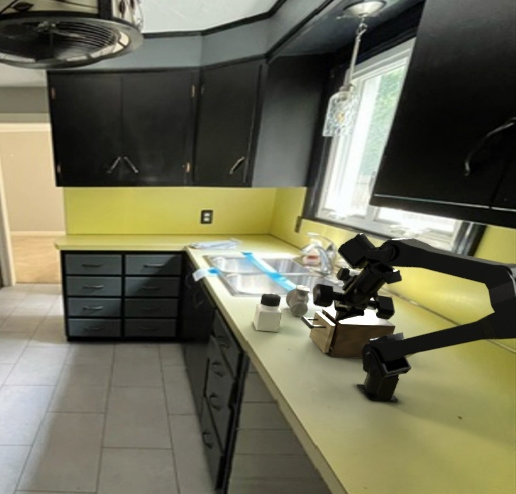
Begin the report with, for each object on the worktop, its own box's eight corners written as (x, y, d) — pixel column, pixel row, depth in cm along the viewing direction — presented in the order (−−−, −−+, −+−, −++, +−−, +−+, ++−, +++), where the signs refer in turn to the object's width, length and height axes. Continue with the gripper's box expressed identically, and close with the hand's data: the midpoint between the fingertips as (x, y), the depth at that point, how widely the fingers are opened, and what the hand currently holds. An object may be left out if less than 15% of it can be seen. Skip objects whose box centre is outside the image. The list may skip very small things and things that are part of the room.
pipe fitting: (283, 304, 147) (290, 281, 142) (304, 308, 145) (313, 285, 140) (283, 317, 138) (292, 293, 132) (306, 322, 135) (316, 297, 130)
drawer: (306, 351, 108) (313, 324, 104) (293, 335, 118) (299, 310, 115) (371, 355, 106) (381, 327, 103) (352, 338, 116) (360, 313, 113)
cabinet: (331, 356, 107) (341, 323, 103) (314, 338, 118) (322, 308, 114) (383, 359, 106) (396, 325, 101) (361, 341, 117) (371, 310, 113)
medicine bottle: (278, 332, 123) (285, 298, 118) (256, 330, 124) (262, 297, 119) (273, 324, 129) (280, 292, 124) (253, 322, 131) (258, 290, 126)
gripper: (405, 266, 91) (368, 305, 104) (326, 252, 93) (300, 291, 106) (412, 299, 85) (372, 336, 98) (328, 283, 87) (301, 321, 100)
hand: (335, 320), depth 101 cm, fingers closed
